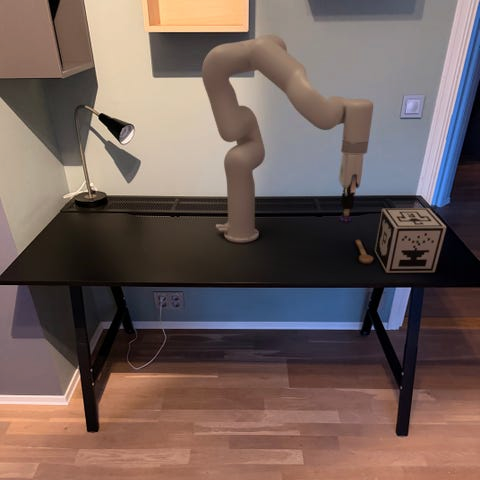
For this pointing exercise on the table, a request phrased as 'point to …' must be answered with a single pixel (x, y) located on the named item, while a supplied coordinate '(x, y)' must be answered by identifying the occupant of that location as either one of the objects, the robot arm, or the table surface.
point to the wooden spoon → (363, 253)
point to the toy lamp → (346, 216)
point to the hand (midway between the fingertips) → (346, 206)
